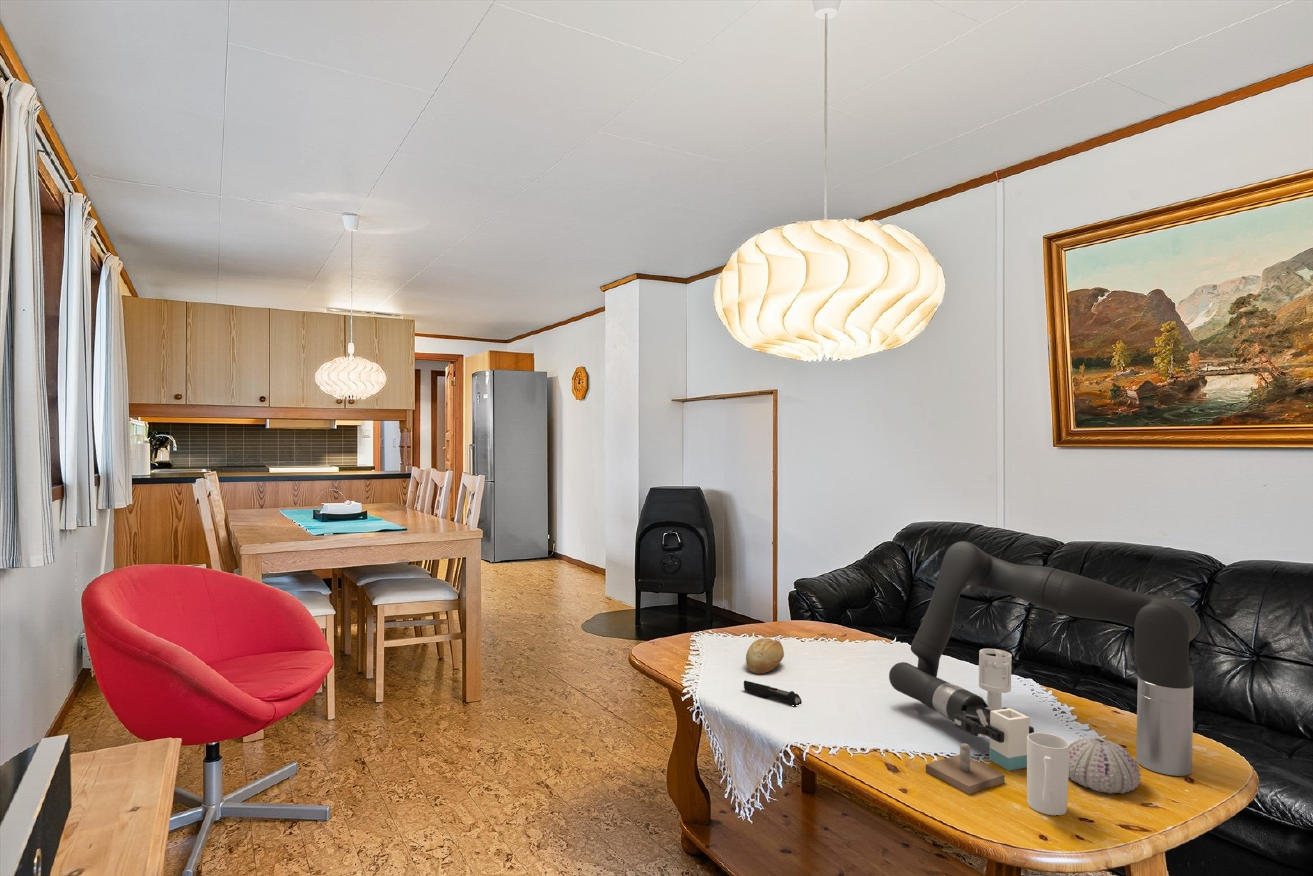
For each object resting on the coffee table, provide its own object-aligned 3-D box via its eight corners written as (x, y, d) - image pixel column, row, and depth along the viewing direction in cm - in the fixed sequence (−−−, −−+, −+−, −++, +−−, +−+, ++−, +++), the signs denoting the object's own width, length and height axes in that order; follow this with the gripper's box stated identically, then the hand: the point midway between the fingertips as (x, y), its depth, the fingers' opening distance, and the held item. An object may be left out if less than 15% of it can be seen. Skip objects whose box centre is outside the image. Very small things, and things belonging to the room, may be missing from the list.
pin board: (960, 761, 151) (961, 729, 151) (1004, 782, 142) (1005, 748, 142) (925, 772, 146) (926, 739, 146) (968, 794, 137) (969, 759, 137)
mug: (1026, 794, 138) (1027, 729, 138) (1068, 803, 135) (1069, 737, 134) (1024, 819, 129) (1025, 750, 129) (1068, 829, 126) (1070, 759, 125)
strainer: (982, 715, 175) (983, 651, 175) (974, 704, 182) (975, 643, 182) (1014, 717, 174) (1015, 653, 174) (1005, 706, 181) (1006, 644, 181)
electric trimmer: (748, 690, 191) (748, 677, 191) (802, 704, 182) (802, 691, 182) (740, 694, 188) (740, 681, 188) (795, 708, 179) (795, 695, 179)
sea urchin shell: (1156, 789, 140) (1157, 747, 140) (1113, 805, 134) (1114, 761, 134) (1087, 761, 152) (1088, 722, 152) (1044, 775, 146) (1045, 734, 146)
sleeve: (1009, 756, 153) (1009, 708, 153) (1028, 767, 149) (1029, 717, 148) (989, 759, 152) (990, 710, 152) (1008, 770, 147) (1009, 720, 147)
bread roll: (789, 663, 213) (790, 635, 213) (774, 678, 199) (774, 649, 199) (757, 658, 217) (757, 630, 217) (740, 673, 203) (740, 644, 203)
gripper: (932, 692, 161) (989, 721, 146) (986, 685, 166) (1046, 713, 150) (931, 726, 161) (988, 759, 146) (985, 719, 166) (1046, 750, 150)
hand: (1017, 735), depth 148 cm, fingers open, 7 cm apart
